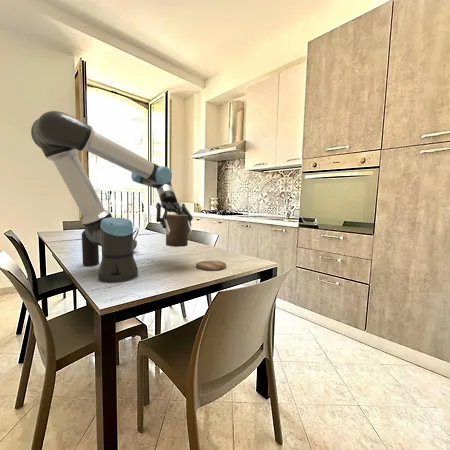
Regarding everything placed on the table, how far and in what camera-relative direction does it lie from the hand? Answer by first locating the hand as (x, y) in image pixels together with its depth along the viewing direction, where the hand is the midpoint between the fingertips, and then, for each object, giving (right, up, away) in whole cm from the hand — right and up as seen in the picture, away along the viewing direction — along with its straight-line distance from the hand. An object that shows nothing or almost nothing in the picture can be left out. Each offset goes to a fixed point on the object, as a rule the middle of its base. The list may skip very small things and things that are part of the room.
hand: (179, 232), depth 113 cm
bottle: (-43, -15, +8) cm, 47 cm away
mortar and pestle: (-36, -13, +34) cm, 52 cm away
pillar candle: (-2, -6, +3) cm, 7 cm away
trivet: (+13, -16, +8) cm, 23 cm away
